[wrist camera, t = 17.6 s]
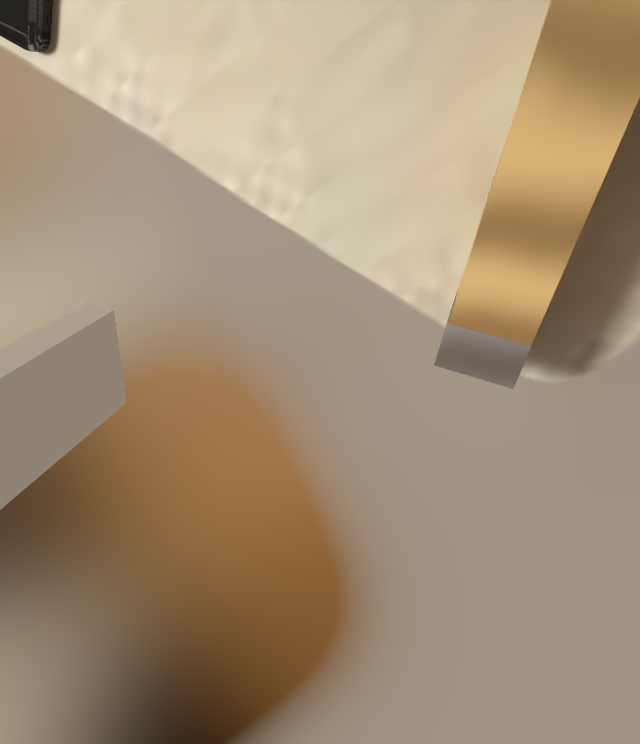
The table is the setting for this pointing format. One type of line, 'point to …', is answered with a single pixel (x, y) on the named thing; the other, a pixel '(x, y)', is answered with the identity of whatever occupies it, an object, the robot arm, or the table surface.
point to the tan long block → (544, 183)
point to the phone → (26, 23)
